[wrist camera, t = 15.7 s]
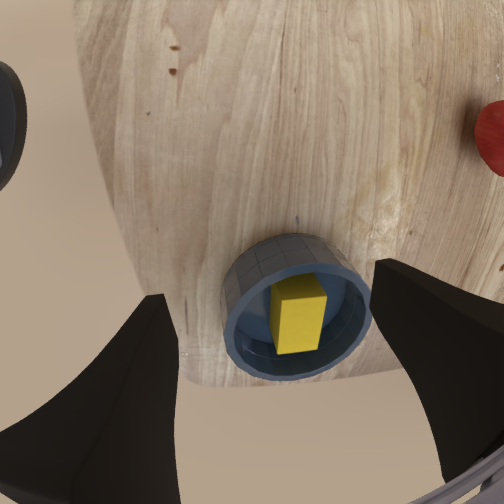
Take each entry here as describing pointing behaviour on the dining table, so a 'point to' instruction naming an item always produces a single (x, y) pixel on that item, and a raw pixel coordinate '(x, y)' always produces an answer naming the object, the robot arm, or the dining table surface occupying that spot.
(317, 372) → the bowl
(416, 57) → the dining table surface
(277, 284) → the yellow block
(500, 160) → the onion
